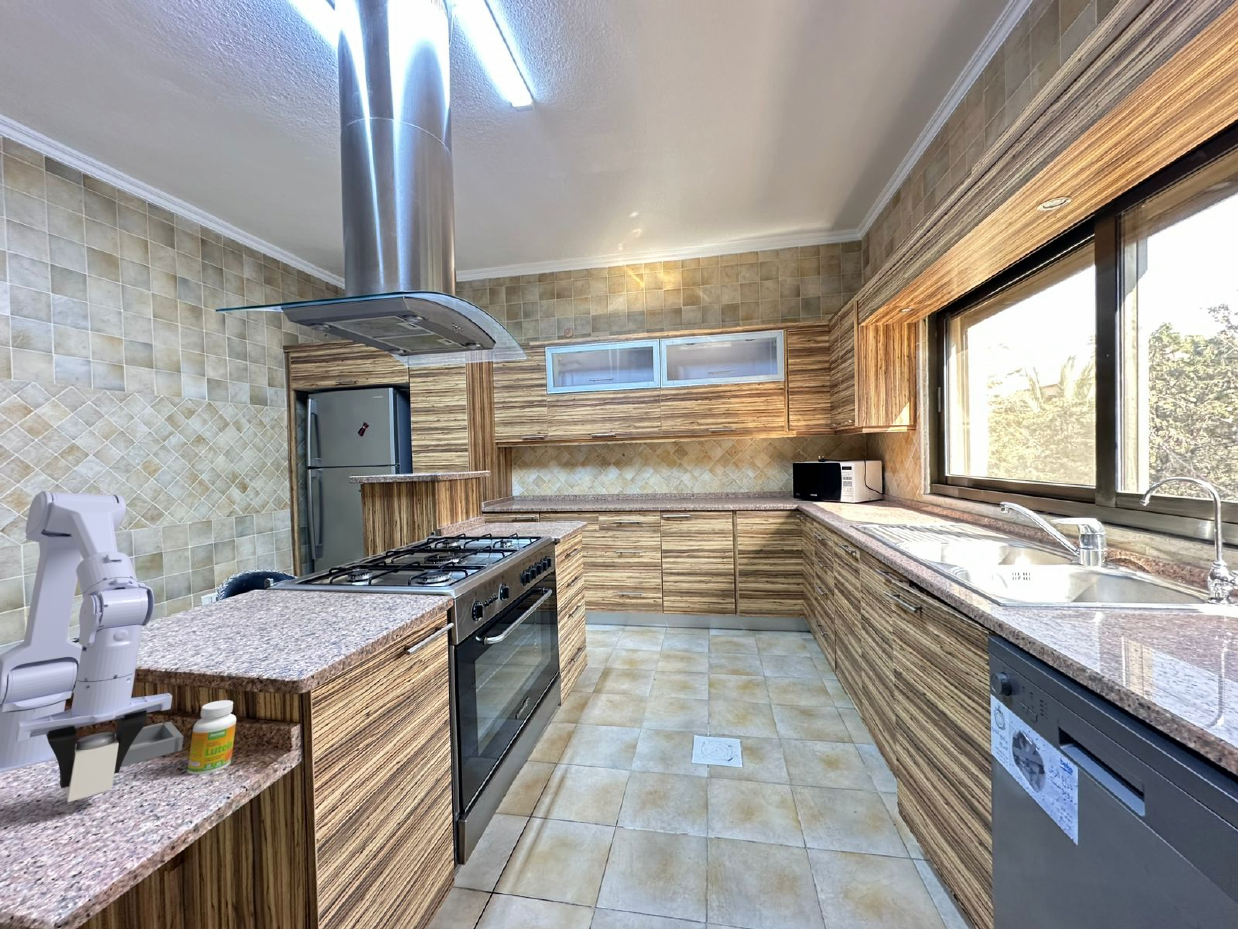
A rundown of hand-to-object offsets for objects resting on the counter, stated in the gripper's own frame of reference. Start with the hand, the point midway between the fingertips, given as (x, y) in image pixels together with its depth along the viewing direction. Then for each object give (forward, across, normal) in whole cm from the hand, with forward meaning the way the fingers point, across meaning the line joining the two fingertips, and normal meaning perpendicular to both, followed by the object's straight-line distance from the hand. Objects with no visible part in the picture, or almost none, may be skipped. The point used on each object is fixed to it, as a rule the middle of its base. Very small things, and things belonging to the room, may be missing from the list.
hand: (90, 778), depth 65 cm
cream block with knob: (+2, 0, 0) cm, 2 cm away
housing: (+4, +6, +12) cm, 14 cm away
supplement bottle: (+4, +14, +1) cm, 14 cm away
